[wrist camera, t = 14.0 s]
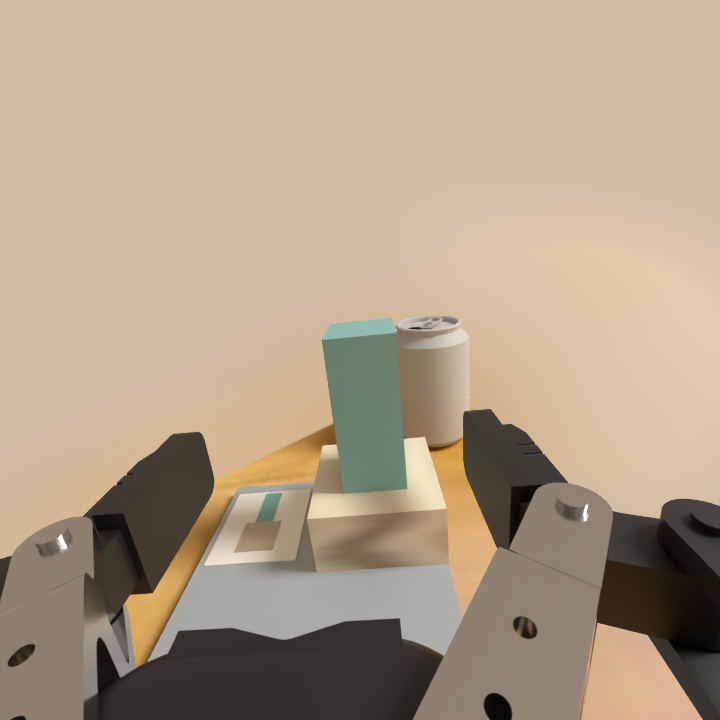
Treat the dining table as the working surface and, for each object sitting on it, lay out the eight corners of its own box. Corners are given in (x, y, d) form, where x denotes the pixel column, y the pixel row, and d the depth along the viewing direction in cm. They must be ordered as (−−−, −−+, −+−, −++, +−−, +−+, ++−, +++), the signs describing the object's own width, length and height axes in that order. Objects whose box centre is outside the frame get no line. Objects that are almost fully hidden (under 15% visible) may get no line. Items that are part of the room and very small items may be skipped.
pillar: (343, 493, 23) (321, 339, 20) (347, 457, 27) (329, 324, 24) (407, 489, 23) (395, 332, 20) (402, 453, 26) (391, 318, 23)
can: (382, 435, 39) (372, 325, 35) (427, 410, 43) (422, 310, 40) (440, 461, 33) (434, 333, 29) (485, 429, 38) (485, 315, 34)
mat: (44, 886, 12) (34, 870, 12) (240, 495, 31) (237, 486, 31) (523, 873, 12) (524, 857, 11) (426, 481, 31) (425, 471, 30)
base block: (316, 572, 22) (307, 519, 21) (329, 488, 30) (322, 445, 29) (448, 563, 22) (446, 508, 21) (427, 480, 29) (424, 436, 28)
